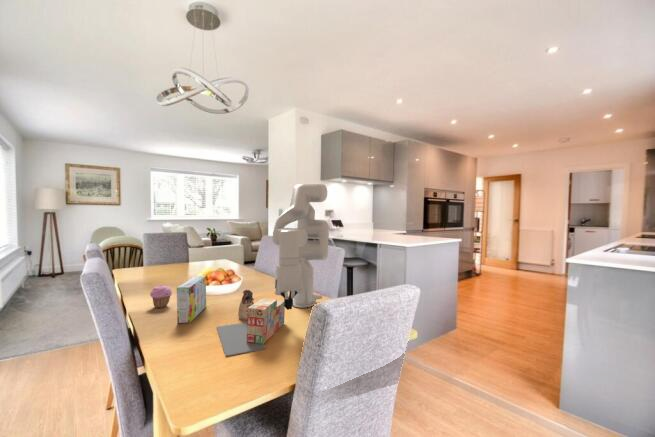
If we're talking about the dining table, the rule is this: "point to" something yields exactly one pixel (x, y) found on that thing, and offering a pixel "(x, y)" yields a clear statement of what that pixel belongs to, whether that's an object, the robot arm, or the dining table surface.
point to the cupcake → (161, 296)
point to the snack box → (191, 299)
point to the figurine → (245, 304)
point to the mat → (236, 339)
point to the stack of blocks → (264, 320)
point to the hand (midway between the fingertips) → (288, 308)
